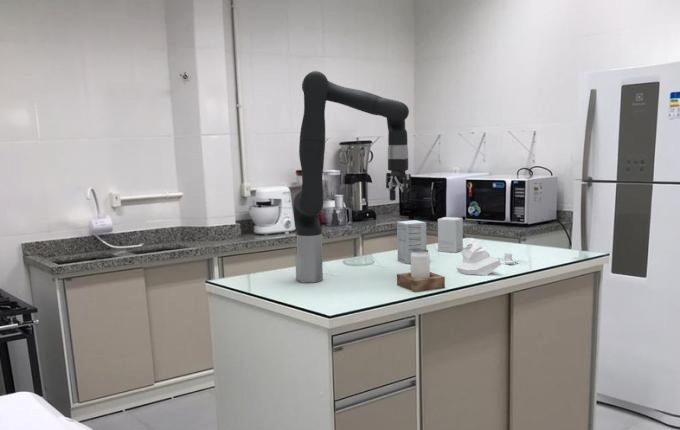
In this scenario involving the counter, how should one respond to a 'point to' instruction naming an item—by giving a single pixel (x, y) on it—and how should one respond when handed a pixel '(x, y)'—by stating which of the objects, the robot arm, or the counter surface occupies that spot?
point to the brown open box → (420, 282)
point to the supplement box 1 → (410, 238)
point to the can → (420, 264)
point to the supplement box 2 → (450, 234)
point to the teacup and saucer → (508, 258)
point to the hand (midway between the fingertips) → (398, 201)
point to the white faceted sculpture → (477, 260)
